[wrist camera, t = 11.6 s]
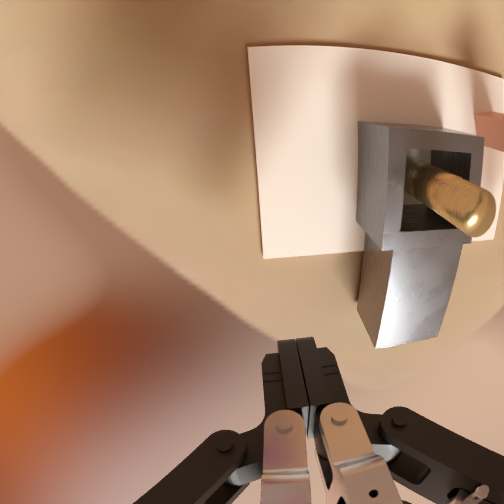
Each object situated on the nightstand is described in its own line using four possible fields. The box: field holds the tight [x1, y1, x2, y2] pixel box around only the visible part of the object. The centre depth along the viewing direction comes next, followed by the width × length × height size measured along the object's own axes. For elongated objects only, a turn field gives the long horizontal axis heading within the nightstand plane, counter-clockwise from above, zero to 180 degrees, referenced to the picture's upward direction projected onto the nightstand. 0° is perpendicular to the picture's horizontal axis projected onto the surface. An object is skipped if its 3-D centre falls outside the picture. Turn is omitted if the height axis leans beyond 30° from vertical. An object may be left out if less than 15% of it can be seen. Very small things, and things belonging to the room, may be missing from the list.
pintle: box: [404, 155, 496, 237], centre depth 13 cm, size 2×2×8 cm
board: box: [247, 45, 504, 259], centre depth 16 cm, size 12×18×1 cm
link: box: [356, 121, 484, 349], centre depth 16 cm, size 12×6×4 cm, turn 4°
